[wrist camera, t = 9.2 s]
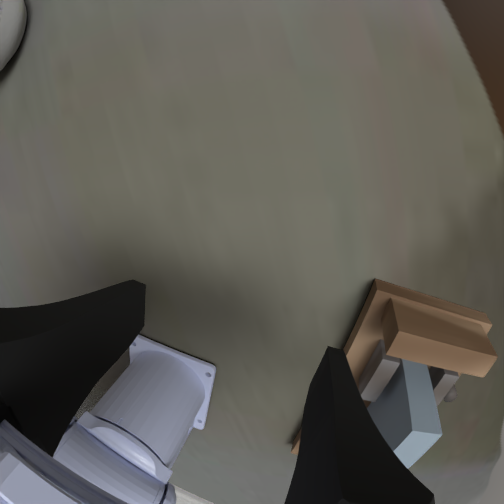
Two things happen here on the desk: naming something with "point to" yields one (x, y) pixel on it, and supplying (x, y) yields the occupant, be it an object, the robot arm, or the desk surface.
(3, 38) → the teacup
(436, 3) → the desk surface
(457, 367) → the knife switch board
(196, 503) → the molding
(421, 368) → the rectangular block
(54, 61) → the desk surface
